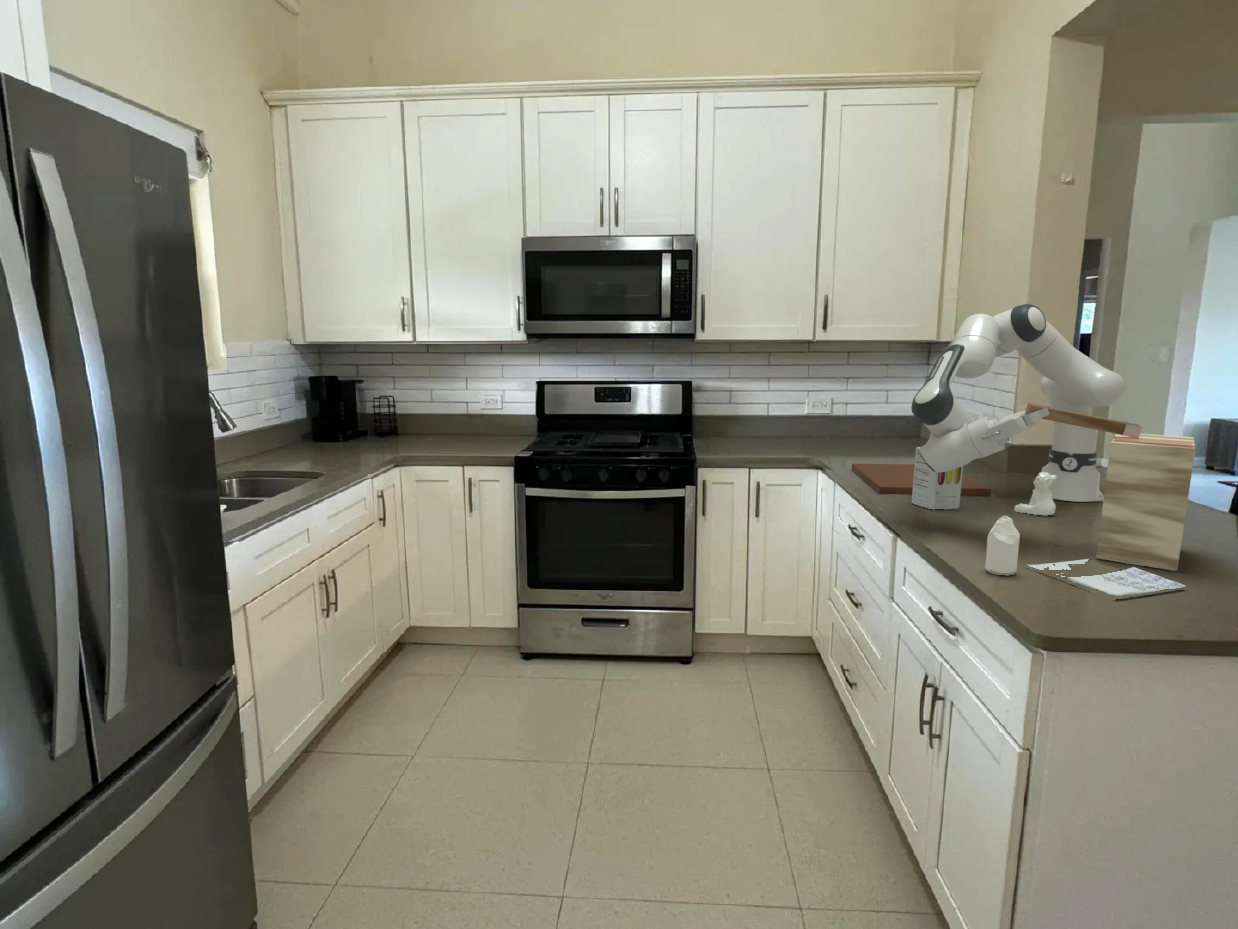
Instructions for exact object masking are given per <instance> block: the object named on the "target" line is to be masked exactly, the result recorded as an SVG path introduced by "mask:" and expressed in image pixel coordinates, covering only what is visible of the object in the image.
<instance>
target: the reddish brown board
mask: <svg viewBox="0 0 1238 929" xmlns="http://www.w3.org/2000/svg"><path fill="white" fill-rule="evenodd" d="M914 468H915V463H914V464H913V463H911V464H909V463H908V464H906V463H904V464H902V463H896V464H895V463H851V471H852V472H853V473H855V474H856V475H857V476H858V477H859V478H860V479H861V480H863V482H865V484H867V485H868V486H869V485H870V486H871V487H870V488H872V489H873V490H874V491H875V492H876V491H877V492H878V493H879V494H878V493H877V492H876V493H877V494H878V495H886V494H901V495H900V496H902V495H903V494H907V495H906V496H912V491H913V480H914ZM903 496H904V495H903ZM980 496H981V497H986V498H987V497H988V498H990V497H992V488H990V487H988V486H987V485H985V484H983V483H981V482H979V481H977V480H975V479H973V478H971V477H970V476H968V475H965V474H964V473H963V474H962V484H961V495H960V497H980ZM981 497H980V498H981Z"/></svg>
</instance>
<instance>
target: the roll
mask: <svg viewBox="0 0 1238 929" xmlns="http://www.w3.org/2000/svg"><path fill="white" fill-rule="evenodd" d="M1020 537H1021V535H1020V532H1019V531H1018V529H1017V528H1016V526H1015V524H1014V520H1013V518H1011V517H1009V516H1007V515H1002V516H1001V517H999V518H998V519H997V520H996V522H995V523H994V525H993V526H992V528H991V530H990V531H989V532H988V534H987V539H986V552H985V553H986V556H985V557H986V558H985V568H986V569H987V570H992V571H995V572H999V573H1012V572H1015V571H1016V572H1017V569H1018V568H1017V566H1018V558H1019V547H1020Z"/></svg>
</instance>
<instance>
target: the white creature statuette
mask: <svg viewBox="0 0 1238 929" xmlns="http://www.w3.org/2000/svg"><path fill="white" fill-rule="evenodd" d="M1056 478H1057V476H1056V475H1051V474H1049V473H1048V472H1042V471H1040V472H1039V473H1038V475H1037V476H1036V477H1035V478H1034V481H1032V482H1033V484H1034V489H1035V490H1034V491H1033V490H1032V491H1033V493H1032V494H1031V498H1030V499H1029V502H1028V504H1027V503H1022V502H1021V503H1019V504H1016V505H1014V508H1013V509H1014V512H1015V511H1016V512H1015V513H1017V512H1021V513H1020V514H1022V513H1027V514H1026V515H1029V514H1033V515H1032V516H1037V515H1051V516H1052V515H1054V513H1056V508H1057V505H1056V503H1055V502H1054V499H1053V498H1052V492H1051V490H1050V489H1048V487H1049V486H1050V485H1051V484H1052V483H1053V480H1055V479H1056Z"/></svg>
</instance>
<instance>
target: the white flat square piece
mask: <svg viewBox="0 0 1238 929" xmlns="http://www.w3.org/2000/svg"><path fill="white" fill-rule="evenodd" d="M1089 559H1090V558H1085V559H1084V558H1083V559H1078V560H1076V559H1075V560H1069V561H1068V560H1067V561H1060V562H1050V563H1039V564H1027V565H1028V566H1030V567H1033V568H1036V569H1039V570H1044V568H1047V567H1049V570H1062V569H1064V570H1066V569H1067V570H1071V568H1070V567H1069V566H1068V564H1085V562H1087V561H1088V560H1089ZM1053 564H1055V566H1054V565H1053ZM1073 566H1074V565H1073ZM1121 570H1122V571H1117V572H1112V573H1107V574H1102V575H1093V576H1081V577H1068V580H1070V581H1072V582H1073V583H1079V584H1081V585H1084V586H1087V587H1090V588H1093V589H1098V590H1100V591H1103V592H1105V593H1107V594H1109V595H1115V596H1123V595H1135V594H1143V593H1150V592H1155V591H1160V590H1164V589H1176V588H1181V589H1183V588H1182V587H1186V585H1185V584H1182V583H1180V582H1178V581H1174V580H1170V579H1167V578H1166V577H1164V576H1163V577H1162V576H1160V575H1157V574H1154V573H1152V572H1148V571H1147V570H1143V569H1140V568H1137V566H1132V567H1129V568H1128V567H1127V568H1126V569H1121ZM1061 574H1063V573H1061ZM1056 575H1059V574H1056ZM1061 577H1065V576H1062V575H1061ZM1186 588H1187V587H1186Z"/></svg>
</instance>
